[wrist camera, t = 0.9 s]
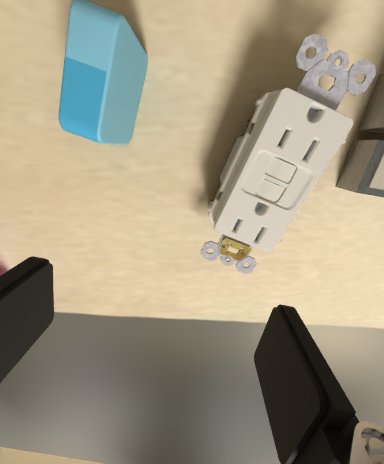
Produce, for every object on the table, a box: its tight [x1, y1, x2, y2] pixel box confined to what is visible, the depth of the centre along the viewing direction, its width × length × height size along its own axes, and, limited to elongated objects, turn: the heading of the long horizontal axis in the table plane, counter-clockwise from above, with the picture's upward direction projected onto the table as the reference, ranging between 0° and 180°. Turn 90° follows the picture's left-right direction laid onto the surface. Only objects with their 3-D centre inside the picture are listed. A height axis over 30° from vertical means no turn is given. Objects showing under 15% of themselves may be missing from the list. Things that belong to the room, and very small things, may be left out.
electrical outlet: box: [201, 33, 376, 274], centre depth 32 cm, size 12×28×10 cm, turn 158°
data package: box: [59, 0, 147, 145], centre depth 27 cm, size 12×4×12 cm, turn 161°
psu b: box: [336, 140, 384, 197], centre depth 33 cm, size 7×6×5 cm
